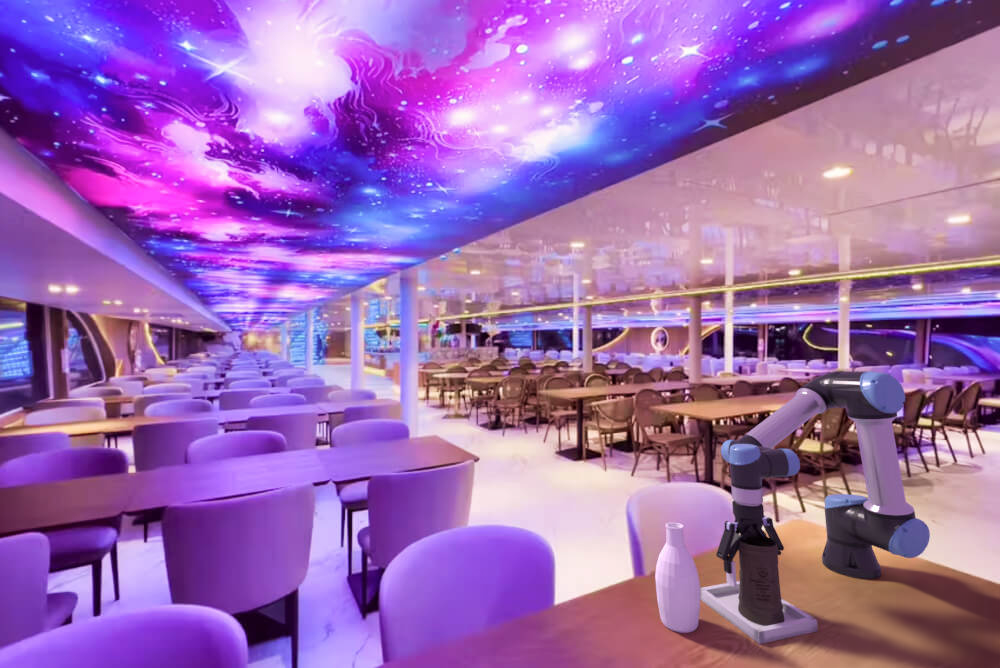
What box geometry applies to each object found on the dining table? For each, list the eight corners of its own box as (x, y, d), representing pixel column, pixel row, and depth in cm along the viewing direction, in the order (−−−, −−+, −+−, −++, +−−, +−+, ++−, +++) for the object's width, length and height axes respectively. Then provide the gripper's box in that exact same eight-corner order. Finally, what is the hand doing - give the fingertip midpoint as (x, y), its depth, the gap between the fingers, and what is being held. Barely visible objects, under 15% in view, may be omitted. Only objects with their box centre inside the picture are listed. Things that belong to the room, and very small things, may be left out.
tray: (749, 588, 135) (748, 579, 135) (817, 630, 113) (816, 619, 113) (698, 598, 130) (697, 588, 130) (759, 644, 109) (758, 632, 109)
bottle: (681, 641, 111) (676, 536, 112) (647, 618, 120) (643, 522, 122) (711, 627, 116) (706, 527, 117) (676, 607, 126) (672, 515, 127)
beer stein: (794, 629, 113) (786, 545, 115) (749, 627, 114) (743, 544, 117) (766, 600, 128) (759, 527, 131) (726, 599, 129) (721, 527, 132)
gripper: (772, 493, 130) (777, 568, 129) (699, 502, 124) (704, 581, 123) (795, 500, 123) (801, 580, 122) (719, 511, 117) (724, 595, 115)
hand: (752, 580), depth 122 cm, fingers open, 13 cm apart
